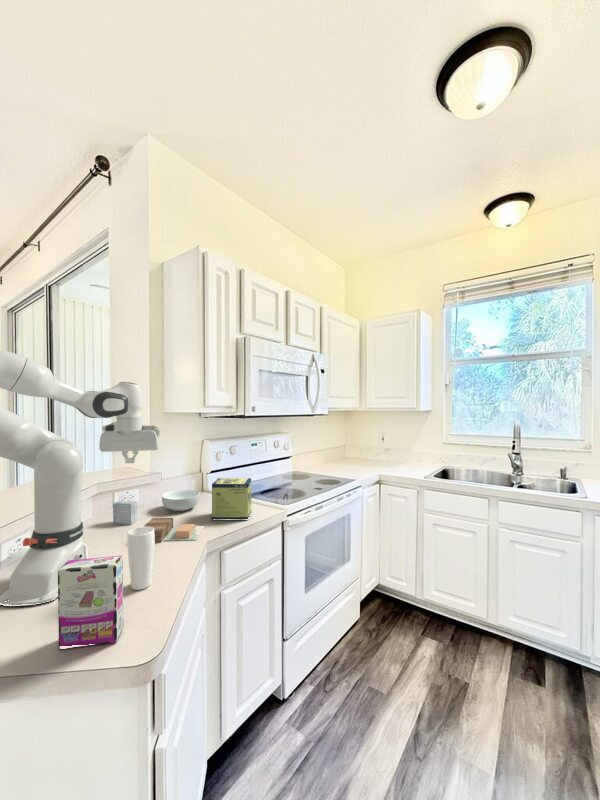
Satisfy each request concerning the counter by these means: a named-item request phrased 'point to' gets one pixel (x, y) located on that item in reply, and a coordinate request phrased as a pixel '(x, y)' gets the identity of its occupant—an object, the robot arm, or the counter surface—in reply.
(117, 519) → the medicine box
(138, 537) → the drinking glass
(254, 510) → the counter surface
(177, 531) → the terracotta tile
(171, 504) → the cereal bowl
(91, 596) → the candy bar box
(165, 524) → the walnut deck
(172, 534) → the sage mat
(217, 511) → the protein box
